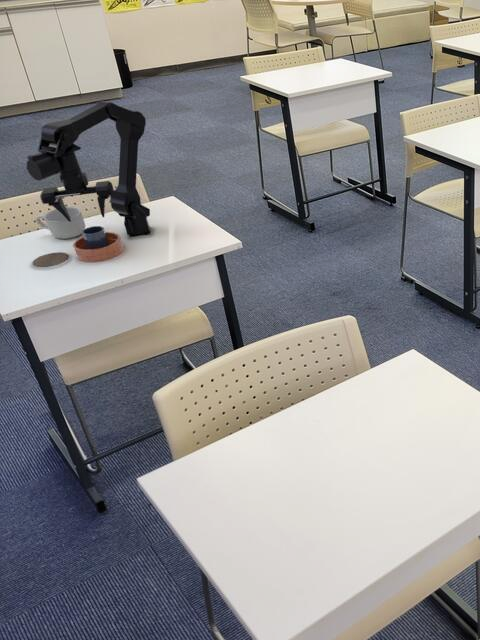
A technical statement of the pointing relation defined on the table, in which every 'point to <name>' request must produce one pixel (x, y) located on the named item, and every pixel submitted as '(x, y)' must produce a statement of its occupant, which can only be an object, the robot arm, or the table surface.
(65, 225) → the teacup
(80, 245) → the bowl
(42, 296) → the table surface
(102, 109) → the robot arm
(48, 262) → the coaster
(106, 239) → the cup
